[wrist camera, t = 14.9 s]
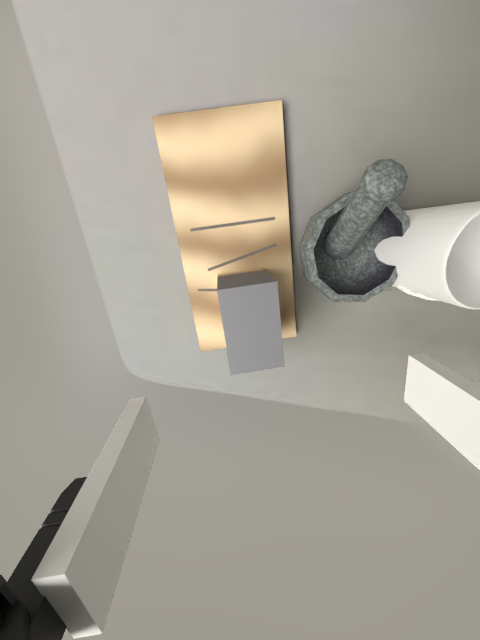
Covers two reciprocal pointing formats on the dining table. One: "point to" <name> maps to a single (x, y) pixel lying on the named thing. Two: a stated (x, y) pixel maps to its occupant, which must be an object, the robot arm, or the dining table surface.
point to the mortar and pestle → (356, 237)
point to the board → (228, 204)
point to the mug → (438, 254)
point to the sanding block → (251, 320)
